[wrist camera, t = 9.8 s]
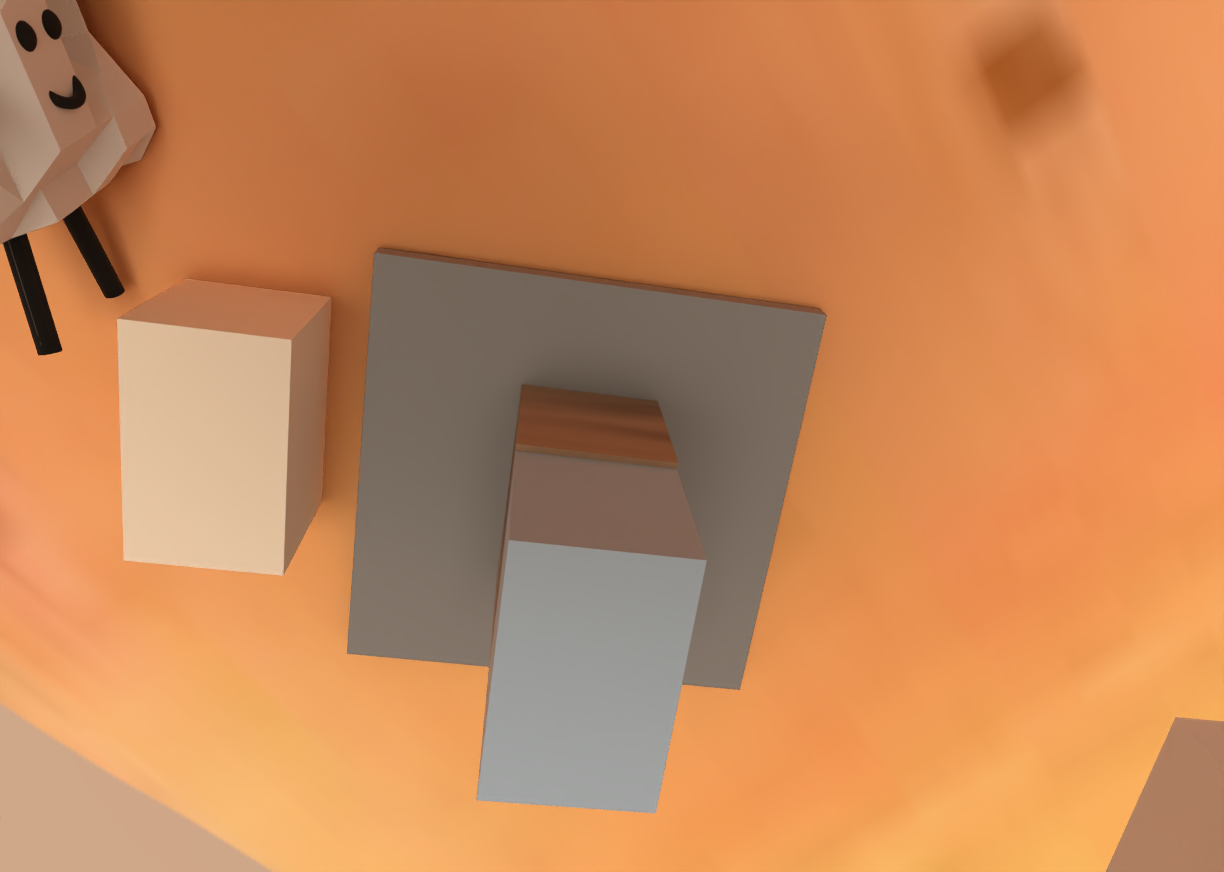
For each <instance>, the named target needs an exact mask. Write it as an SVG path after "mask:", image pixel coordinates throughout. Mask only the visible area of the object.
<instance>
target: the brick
mask: <svg viewBox="0 0 1224 872" xmlns="http://www.w3.org/2000/svg"><path fill="white" fill-rule="evenodd" d="M331 304H332V297H329V296H321V295H313V294H305V293H297V292H289V291H282V290H274V289H266V288H258V287H250V286H242V285H234V284H226V283H218V282H211V281H203V280H195V279H187V278H186V279H184V280H183V281H181V282H179V283H177V284H176V285H174V286H172V287H171V288H169V289H167V290H165V291H164V292H162V293H160V294H159V295H157V296H155V297H153V298H152V299H150V300H148V301H146V302H145V303H143V304H141V305H140V306H138V307H136V308H134V309H133V310H131V311H129V312H128V313H126V314H124V315H122V316H121V317H119V318H117V334H118V370H119V406H120V442H121V478H122V513H123V549H124V560H125V561H136V562H146V563H156V564H167V565H177V566H188V567H198V568H209V569H219V570H230V571H240V572H251V573H261V574H271V575H282V576H283V575H284V573H285V571H286V570H287V568H288V566H289V564H290V562H291V560H292V558H293V556H294V554H295V552H296V550H297V548H298V546H299V544H300V542H301V541H302V539H303V537H304V535H305V533H306V531H307V529H308V527H309V525H310V523H311V521H312V519H313V517H314V515H315V513H316V512H317V510H318V508H319V506H320V504H321V502H322V491H323V470H324V449H325V429H326V408H327V387H328V366H329V346H330V325H331Z"/></svg>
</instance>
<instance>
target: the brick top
mask: <svg viewBox="0 0 1224 872" xmlns="http://www.w3.org/2000/svg"><path fill="white" fill-rule="evenodd" d="M706 562H707V559H706V556H705V553H704V550H703V547H702V544H701V541H700V538H699V535H698V532H697V529H696V526H695V523H694V520H693V517H692V514H691V511H690V508H689V504H688V501H687V498H686V495H685V492H684V489H683V486H682V483H681V480H680V477H679V474H678V471H677V469H672V468H663V467H655V466H646V465H637V464H628V463H619V462H610V461H602V460H593V459H584V458H575V457H566V456H557V455H548V454H540V453H531V452H522V451H516V452H515V460H514V468H513V477H512V485H511V493H510V501H509V509H508V518H507V526H506V534H505V542H504V550H503V559H502V567H501V575H500V583H499V592H498V600H497V608H496V616H495V624H494V633H493V641H492V649H491V657H490V665H489V674H488V684H487V695H486V706H485V717H484V727H483V738H482V749H481V760H480V770H479V781H478V792H477V800H480V801H494V802H507V803H521V804H535V805H549V806H562V807H576V808H590V809H603V810H617V811H631V812H644V813H656V809H657V804H658V799H659V794H660V789H661V785H662V780H663V775H664V770H665V765H666V760H667V755H668V750H669V745H670V740H671V735H672V730H673V725H674V720H675V715H676V710H677V705H678V701H679V696H680V691H681V686H682V681H683V676H684V671H685V666H686V661H687V656H688V651H689V646H690V641H691V636H692V631H693V626H694V621H695V617H696V612H697V607H698V602H699V597H700V592H701V587H702V582H703V577H704V572H705V567H706Z"/></svg>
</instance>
